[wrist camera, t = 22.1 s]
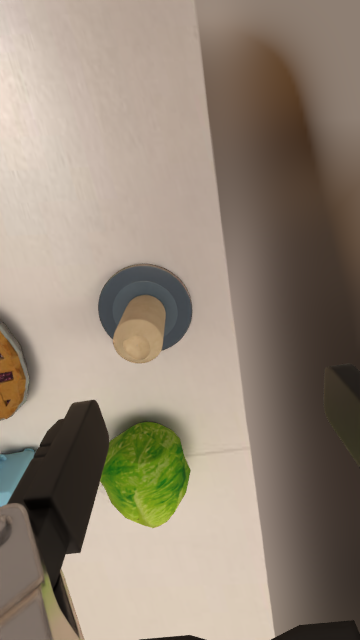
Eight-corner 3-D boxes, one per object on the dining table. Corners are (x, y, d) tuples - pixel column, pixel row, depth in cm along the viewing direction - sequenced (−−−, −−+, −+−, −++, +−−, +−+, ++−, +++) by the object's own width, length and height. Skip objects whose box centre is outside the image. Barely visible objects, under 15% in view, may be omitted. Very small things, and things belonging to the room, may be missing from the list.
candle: (117, 315, 40) (99, 350, 31) (142, 286, 38) (131, 314, 29) (149, 338, 41) (140, 379, 32) (174, 311, 40) (172, 346, 30)
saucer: (183, 256, 38) (183, 258, 37) (197, 341, 43) (198, 346, 42) (88, 272, 39) (85, 275, 38) (113, 354, 44) (111, 359, 43)
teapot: (51, 429, 50) (22, 482, 40) (84, 482, 55) (65, 541, 46) (-40, 451, 52) (-88, 507, 42) (1, 501, 57) (-34, 560, 48)
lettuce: (120, 490, 56) (105, 562, 45) (104, 408, 48) (83, 471, 37) (191, 487, 56) (194, 559, 45) (187, 405, 48) (190, 467, 37)
